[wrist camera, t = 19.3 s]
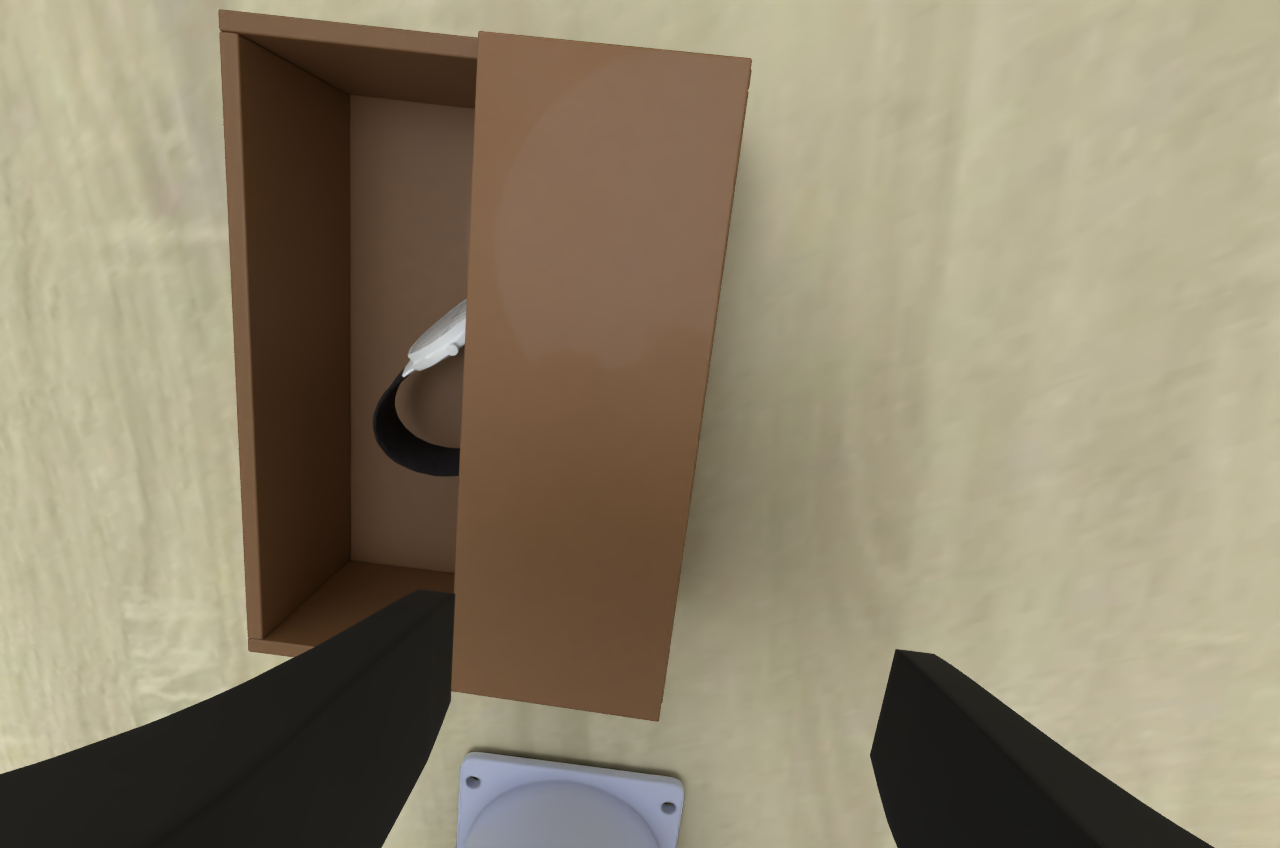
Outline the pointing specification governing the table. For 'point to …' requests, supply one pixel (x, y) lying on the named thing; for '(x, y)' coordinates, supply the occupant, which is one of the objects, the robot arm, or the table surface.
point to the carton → (344, 309)
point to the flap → (586, 360)
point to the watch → (386, 422)
